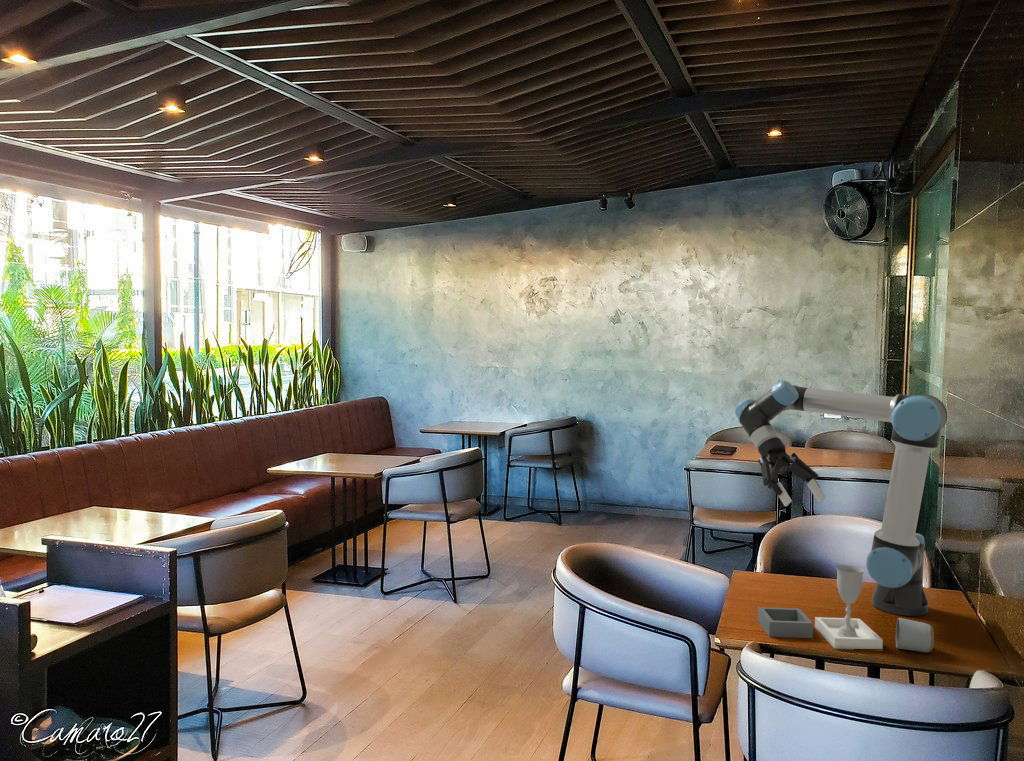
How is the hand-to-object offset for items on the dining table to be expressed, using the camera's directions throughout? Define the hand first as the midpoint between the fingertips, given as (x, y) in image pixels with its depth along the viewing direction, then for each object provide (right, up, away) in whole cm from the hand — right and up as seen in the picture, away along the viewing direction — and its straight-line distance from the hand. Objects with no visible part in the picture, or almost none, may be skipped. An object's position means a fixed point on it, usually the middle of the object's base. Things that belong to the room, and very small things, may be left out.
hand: (805, 501), depth 221 cm
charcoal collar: (-10, -33, -12) cm, 37 cm away
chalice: (+4, -33, -18) cm, 38 cm away
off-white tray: (+4, -34, -18) cm, 38 cm away
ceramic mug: (+19, -34, -23) cm, 45 cm away
